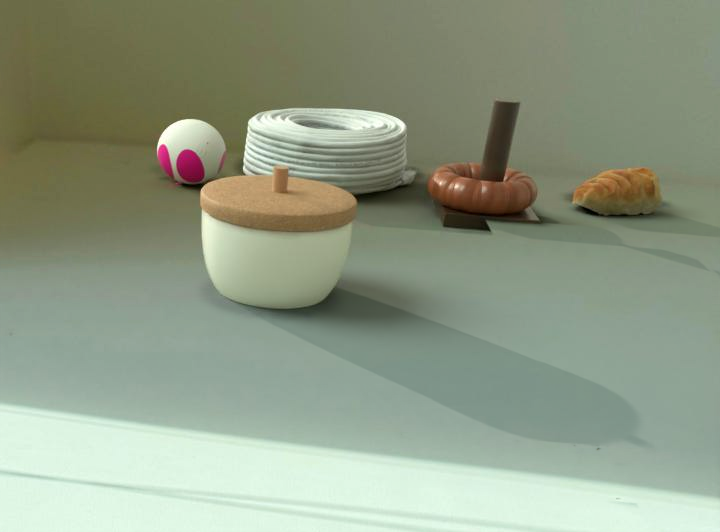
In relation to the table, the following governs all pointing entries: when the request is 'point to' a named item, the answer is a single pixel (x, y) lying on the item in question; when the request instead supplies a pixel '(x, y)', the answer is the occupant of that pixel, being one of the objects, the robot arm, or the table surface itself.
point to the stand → (492, 169)
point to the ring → (481, 190)
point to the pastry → (620, 192)
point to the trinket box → (275, 238)
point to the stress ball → (191, 151)
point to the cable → (330, 147)
